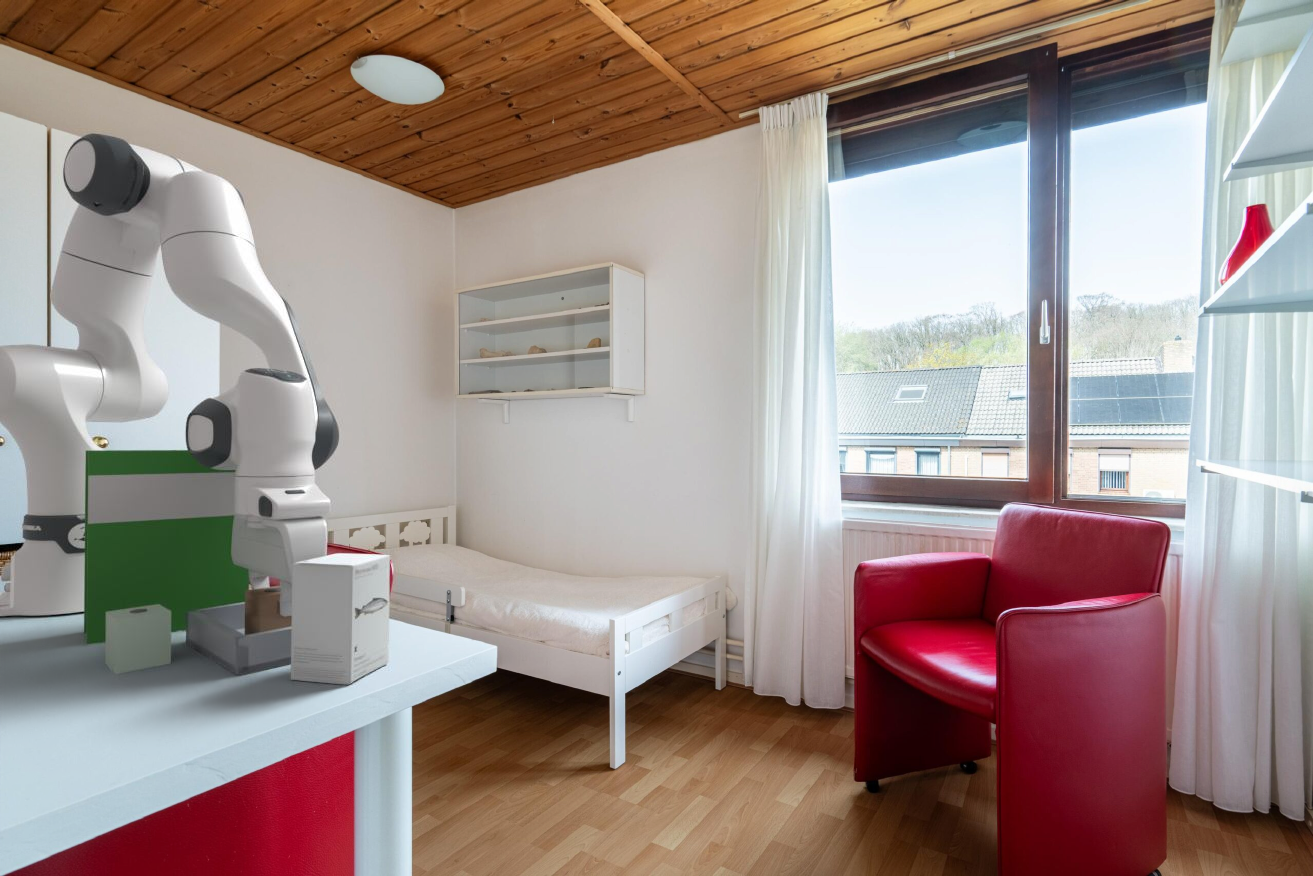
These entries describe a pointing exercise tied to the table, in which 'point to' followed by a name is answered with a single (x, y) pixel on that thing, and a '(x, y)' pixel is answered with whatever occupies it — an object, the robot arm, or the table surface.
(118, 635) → the sage block
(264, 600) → the walnut block
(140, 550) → the hardback book
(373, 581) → the supplement box
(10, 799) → the table surface
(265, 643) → the tray
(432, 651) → the table surface
